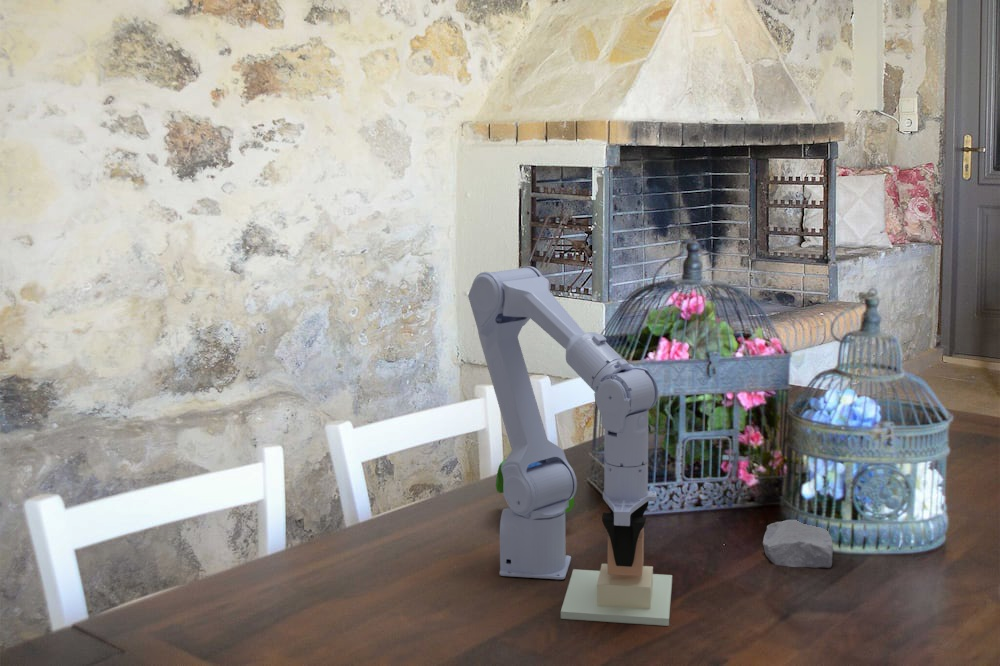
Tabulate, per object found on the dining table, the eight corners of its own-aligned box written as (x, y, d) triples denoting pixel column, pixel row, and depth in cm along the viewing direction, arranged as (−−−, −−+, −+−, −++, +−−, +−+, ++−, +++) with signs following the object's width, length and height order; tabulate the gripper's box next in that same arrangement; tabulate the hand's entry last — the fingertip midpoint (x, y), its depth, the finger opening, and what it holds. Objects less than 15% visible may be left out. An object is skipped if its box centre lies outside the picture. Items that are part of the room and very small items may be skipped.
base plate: (560, 618, 142) (560, 589, 141) (573, 575, 156) (573, 549, 155) (668, 625, 140) (669, 596, 139) (672, 581, 153) (672, 555, 152)
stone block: (768, 578, 159) (839, 569, 156) (762, 547, 158) (833, 538, 156) (765, 550, 170) (830, 542, 168) (759, 521, 170) (825, 512, 167)
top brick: (607, 573, 144) (607, 538, 143) (610, 560, 148) (610, 526, 147) (641, 575, 143) (641, 540, 142) (643, 562, 147) (643, 527, 146)
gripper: (654, 479, 135) (653, 582, 137) (659, 446, 149) (658, 539, 152) (597, 476, 136) (597, 578, 139) (607, 444, 150) (607, 537, 153)
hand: (625, 558), depth 145 cm, fingers closed on top brick, 4 cm apart
